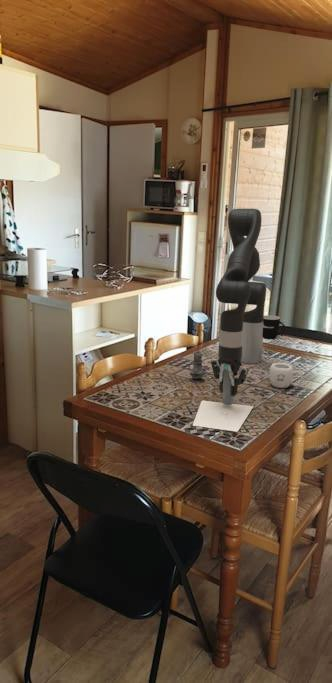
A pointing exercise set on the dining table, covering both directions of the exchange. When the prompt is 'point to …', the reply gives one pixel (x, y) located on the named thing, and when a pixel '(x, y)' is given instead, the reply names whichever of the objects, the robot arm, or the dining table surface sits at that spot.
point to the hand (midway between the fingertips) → (228, 393)
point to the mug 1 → (271, 327)
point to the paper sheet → (221, 415)
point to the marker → (227, 387)
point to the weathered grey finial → (197, 368)
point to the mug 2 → (282, 375)
